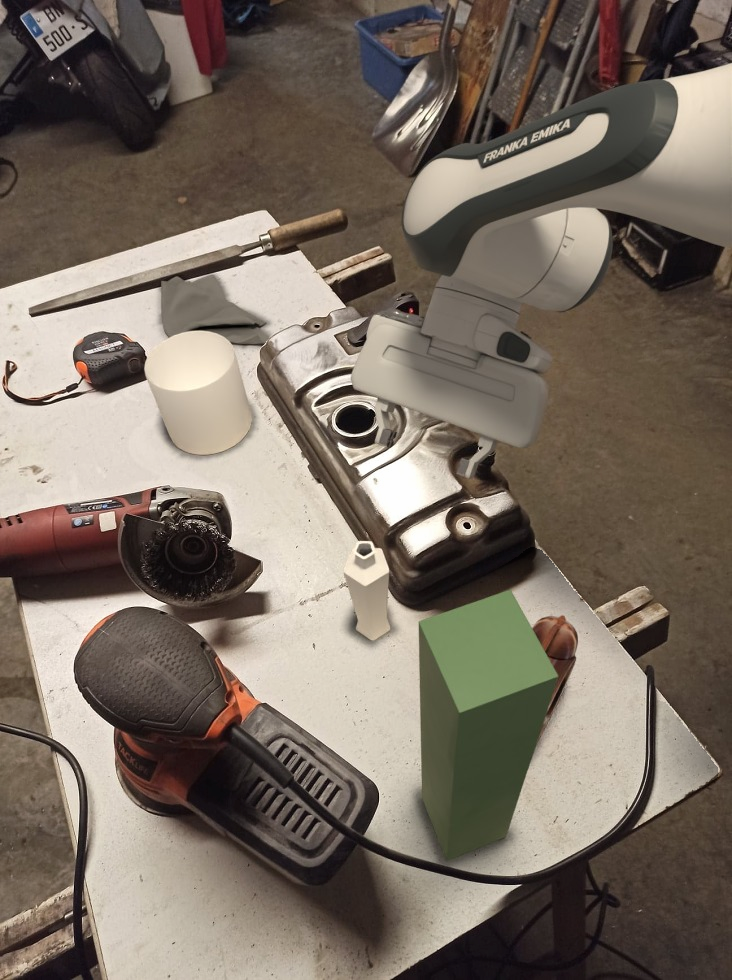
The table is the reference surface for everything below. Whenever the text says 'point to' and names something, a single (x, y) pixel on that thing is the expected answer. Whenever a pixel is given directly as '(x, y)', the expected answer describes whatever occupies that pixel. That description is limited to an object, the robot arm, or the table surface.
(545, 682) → the block
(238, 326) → the cloth
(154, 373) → the cup
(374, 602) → the white faceted bottle
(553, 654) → the brown ribbed piece
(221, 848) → the table surface
